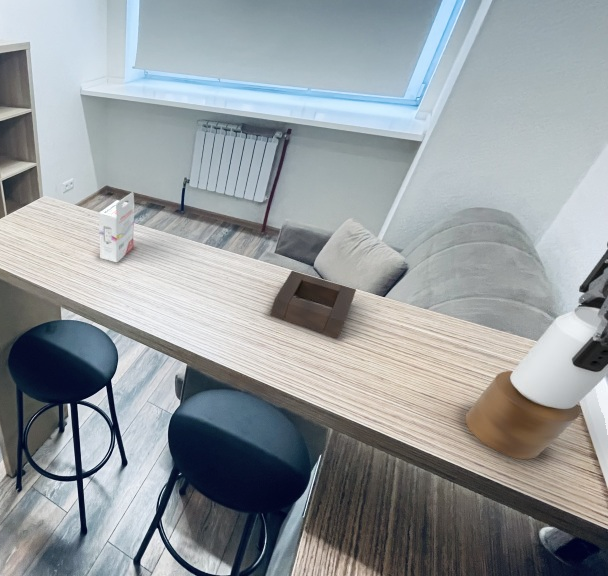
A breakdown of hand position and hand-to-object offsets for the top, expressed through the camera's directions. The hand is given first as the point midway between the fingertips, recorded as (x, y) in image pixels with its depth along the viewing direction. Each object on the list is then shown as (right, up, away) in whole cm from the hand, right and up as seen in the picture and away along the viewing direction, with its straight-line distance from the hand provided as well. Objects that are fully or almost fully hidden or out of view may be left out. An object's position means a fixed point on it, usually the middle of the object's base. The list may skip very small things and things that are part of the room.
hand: (578, 348), depth 47 cm
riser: (0, -13, +9) cm, 16 cm away
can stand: (-14, +3, +32) cm, 35 cm away
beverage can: (0, -6, +4) cm, 8 cm away
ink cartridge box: (-51, +15, +52) cm, 74 cm away
